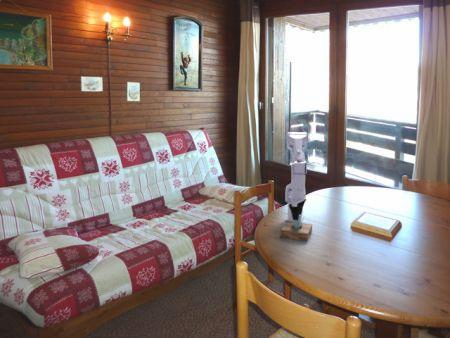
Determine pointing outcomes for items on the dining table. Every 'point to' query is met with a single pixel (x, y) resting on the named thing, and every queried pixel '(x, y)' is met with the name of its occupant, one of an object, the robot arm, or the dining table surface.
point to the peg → (297, 223)
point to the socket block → (296, 231)
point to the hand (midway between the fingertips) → (297, 216)
